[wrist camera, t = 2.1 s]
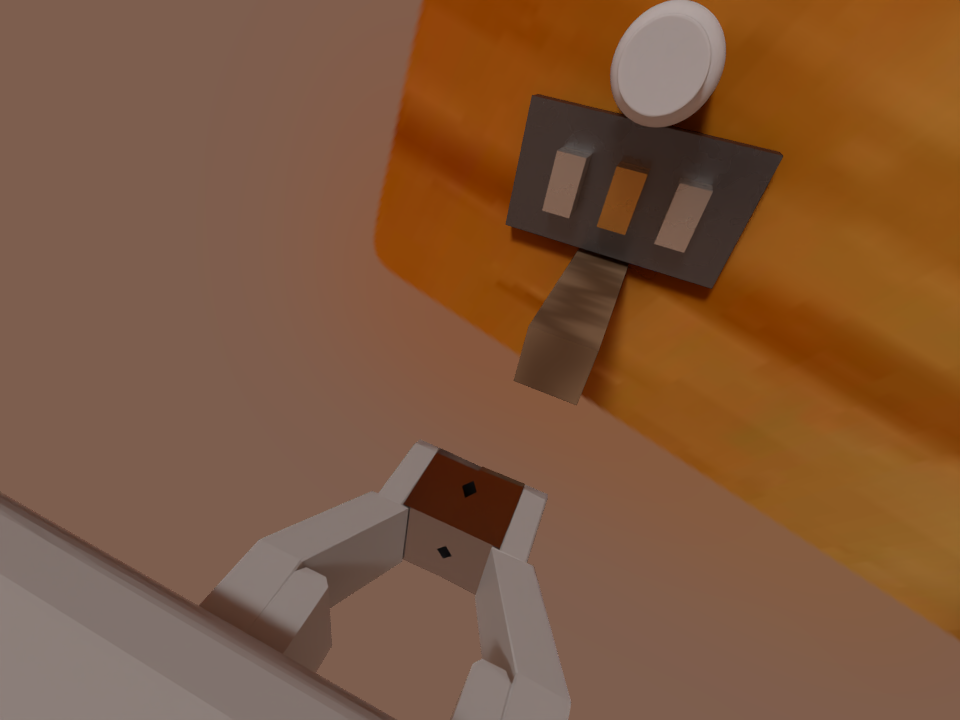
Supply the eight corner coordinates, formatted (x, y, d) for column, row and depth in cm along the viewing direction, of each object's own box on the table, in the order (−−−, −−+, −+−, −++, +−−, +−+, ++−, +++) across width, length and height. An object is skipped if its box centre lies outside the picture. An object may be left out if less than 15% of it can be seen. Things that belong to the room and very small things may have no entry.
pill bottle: (665, 136, 30) (653, 160, 22) (607, 76, 29) (576, 80, 22) (741, 58, 26) (758, 55, 19) (678, -11, 26) (669, -43, 18)
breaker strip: (779, 152, 28) (788, 161, 25) (711, 280, 33) (712, 300, 30) (538, 94, 31) (523, 96, 28) (511, 219, 37) (496, 231, 34)
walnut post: (629, 262, 35) (598, 351, 24) (611, 306, 37) (576, 405, 26) (580, 247, 36) (528, 326, 25) (566, 291, 38) (513, 380, 27)
